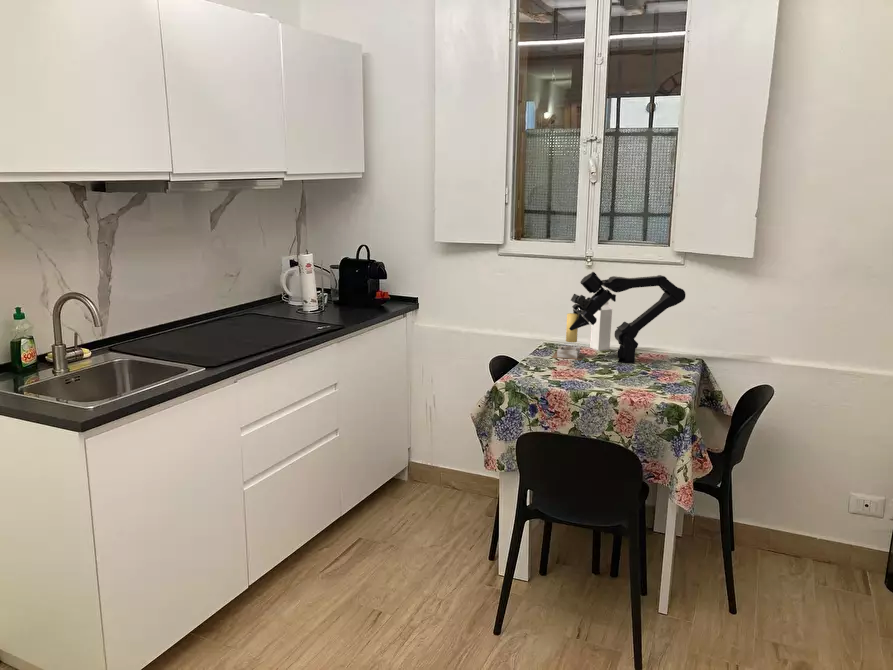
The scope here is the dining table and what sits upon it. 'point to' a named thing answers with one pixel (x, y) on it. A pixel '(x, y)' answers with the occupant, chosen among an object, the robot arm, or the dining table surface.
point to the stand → (568, 353)
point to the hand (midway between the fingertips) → (568, 328)
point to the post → (570, 334)
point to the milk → (601, 329)
